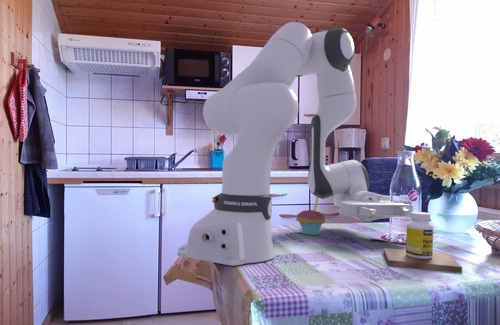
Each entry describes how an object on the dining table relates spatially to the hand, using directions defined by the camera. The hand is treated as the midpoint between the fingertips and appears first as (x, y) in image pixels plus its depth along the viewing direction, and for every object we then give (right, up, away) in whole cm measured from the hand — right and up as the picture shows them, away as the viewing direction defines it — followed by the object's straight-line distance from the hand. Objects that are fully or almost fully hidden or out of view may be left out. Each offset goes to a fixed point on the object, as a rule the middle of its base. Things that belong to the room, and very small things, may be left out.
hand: (390, 213), depth 91 cm
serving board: (+2, -9, -12) cm, 15 cm away
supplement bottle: (+2, -8, -12) cm, 15 cm away
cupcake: (-18, -9, +16) cm, 26 cm away
